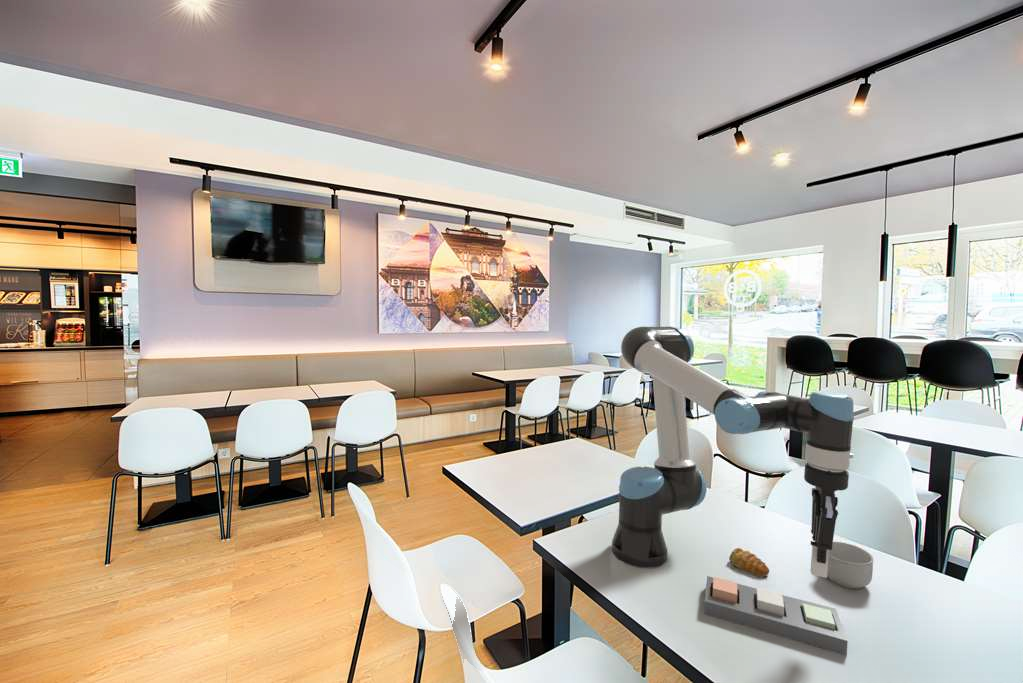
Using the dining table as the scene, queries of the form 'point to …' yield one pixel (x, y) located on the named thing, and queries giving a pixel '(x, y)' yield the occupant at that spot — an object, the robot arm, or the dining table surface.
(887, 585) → the dining table surface
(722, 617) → the keypad
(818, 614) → the sage key
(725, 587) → the terracotta key
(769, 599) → the cream key
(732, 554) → the pastry
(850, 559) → the teacup
